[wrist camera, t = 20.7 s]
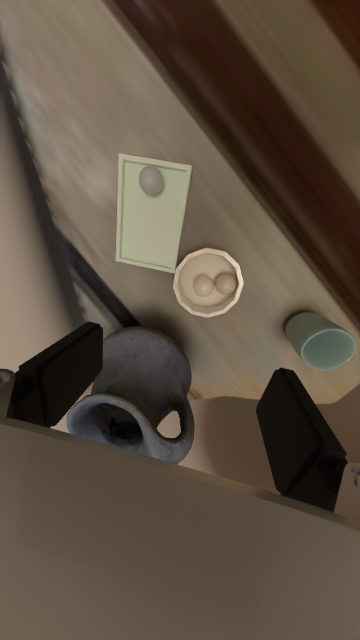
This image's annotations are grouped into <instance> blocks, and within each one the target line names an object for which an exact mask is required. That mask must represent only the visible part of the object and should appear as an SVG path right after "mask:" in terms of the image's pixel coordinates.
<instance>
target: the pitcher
mask: <svg viewBox="0 0 360 640" xmlns="http://www.w3.org/2000/svg"><path fill="white" fill-rule="evenodd" d="M191 378H192V377H191V369H190V365H189V362H188V359H187V357H186V355H185V353H184V352H183V350H182V349H181V348H180V346H179V345H178V344H177V343H176V342H175V341H174V340H173V339H172V338H170V337H169V336H168V335H166V334H164V333H163V332H161V331H158V330H155V329H152V328H149V327H142V326H131V327H127V328H123V329H120V330H118V331H115V332H113V333H111V334H110V335H108V336H107V337H106V338H105V339H104V340H103V368H102V371H101V373H100V374H99V375H98V376H97V377H96V379H95V380H94V383H93V387H92V392H91V395H87V396H85V397H84V398H83V399H82V400H81V401H79V402H77V403H76V404H75V405H74V406H73V407H72V408H71V410H70V411H69V412H68V414H67V427H68V430H69V432H70V434H73V435H76V436H80V437H83V438H87V439H90V440H94V441H97V442H101V443H104V444H108V445H111V446H115V447H119V448H122V449H125V450H129V451H132V452H136V453H139V454H143V455H146V456H150V457H153V458H157V459H160V460H164V461H167V462H170V463H174V464H178V463H179V462H180V461H182V460H183V459H184V458H185V456H186V455H187V453H188V452H189V450H190V449H191V446H192V443H193V440H194V417H193V414H192V410H191V407H190V404H189V401H188V399H187V397H186V396H187V394H188V391H189V389H190V385H191ZM172 411H177V412H178V414H179V417H180V426H181V433H180V434H179V436H177V437H176V438H165V437H164V436H162V435H161V434H160V433H159V432H158V430H157V429H156V428H157V426H158V425H159V423H160V422H161V421H162V420H163V419H164V418H165V417H166V416H167V415H168V414H169V413H170V412H172Z"/></svg>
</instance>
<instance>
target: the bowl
mask: <svg viewBox="0 0 360 640" xmlns="http://www.w3.org/2000/svg"><path fill="white" fill-rule="evenodd" d="M222 274H230V275H232V276H233V277H234V278H235V279H236V288H235V290H234V291H233V292H232V293H231V294H228V295H222V294H220V293H218V292H217V290H216V288H215V281H216V279H217V278H218V277H219V276H220V275H222ZM201 276H207V277H209V278H211V279H212V281H213V283H214V289H213V291H212V293H211V294H210V295H208V296H205V297H201V296H199V295H197V294H196V293H195V291H194V289H193V285H194V282H195V280H196V279H197V278H198V277H201ZM243 284H244V283H243V279H242V275H241V270H240V266H239V264H238V263H237V262H236V261H235V260H233V259H232V258H231V257H230V256H229V255H228V254H227V253H226V252H225V251H224V250H219V249H214V248H209V247H206V248H203V249H200V250H197V251H195V252H192V253H190V254H188V255H187V256H186V257H185V258H184V260H183V261H182V262H181V263H180V265H179V266H178V267H177V268H176V271H175V277H174V283H173V289H174V291H175V294H176V297H177V300H178V302H179V304H181V305H182V306H183V307H184V308H185V309H186V310H187V311H189V312H190V313H191V314H194V315H199V316H203V317H207V318H208V317H212V316H216V315H220V314H223V313H225V312H226V311H228V310H229V309H230V308H231V307H232V306H233V305H234V304H235V303H236V302H237V301H238V299H239V296H240V293H241V290H242V287H243Z"/></svg>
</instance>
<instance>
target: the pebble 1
mask: <svg viewBox="0 0 360 640" xmlns="http://www.w3.org/2000/svg"><path fill="white" fill-rule="evenodd" d="M139 184H140V187H141V189H142V191H143V192H144V193H145V194H147V195H150V196H155V195H157V194H158V193H159V192H160V191H161V189H162V187H163V177H162V174H161V172H160V171H159V170H158V169H157V168H156V167H154V166H146V167H144V168H143V169H142V170H141V172H140V174H139Z"/></svg>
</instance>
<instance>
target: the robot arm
mask: <svg viewBox="0 0 360 640" xmlns="http://www.w3.org/2000/svg"><path fill="white" fill-rule="evenodd" d="M102 368H103V328H102V327H101V326H100V324H97V323H93V322H87V323H85V324H84V325H82V326H80V327H79V328H77V329H76V330H74V331H73V332H71V333H70V334H68V335H67V336H65V337H64V338H62V339H60V340H59V341H58V342H56V343H54V344H53V345H51V346H50V347H48V348H47V349H45V350H43V351H42V352H40V353H39V354H37V355H36V356H34V357H33V358H31V359H30V360H28V361H26V362H25V363H23V364H22V365H20V366H19V371H17V372H16V373H14V372H13V371H11V370H8V369H0V640H360V464H357V463H348V462H347V460H346V459H345V456H346V455H347V454H346V452H345V451H344V449H343V447H342V446H341V444H340V443H339V441H338V440H337V438H336V436H335V435H334V433H333V432H332V430H331V428H330V427H329V425H328V424H327V422H326V421H325V419H324V417H323V416H322V414H321V413H320V411H319V410H318V408H317V407H316V405H315V403H314V402H313V400H312V399H311V397H310V395H309V394H308V392H307V391H306V389H305V387H304V386H303V384H302V383H301V381H300V380H299V378H298V376H297V375H296V373H295V372H294V371H293V370H289V369H284V368H280V369H279V370H275V371H274V373H273V375H272V377H271V379H270V381H269V383H268V385H267V387H266V389H265V391H264V393H263V395H262V397H261V399H260V401H259V403H258V405H257V410H256V412H257V417H258V421H259V425H260V429H261V433H262V436H263V440H264V444H265V448H266V452H267V456H268V459H269V463H270V467H271V471H272V475H273V479H274V483H275V486H276V489H277V490H278V491H279V492H280V493H281V495H278V494H275V493H272V492H269V491H266V490H262V489H259V488H255V487H252V486H249V485H245V484H242V483H238V482H235V481H232V480H228V479H225V478H221V477H218V476H215V475H211V474H208V473H205V472H201V471H198V470H194V469H191V468H188V467H184V466H180V465H177V464H174V463H170V462H167V461H164V460H160V459H157V458H153V457H150V456H146V455H143V454H139V453H136V452H132V451H129V450H125V449H122V448H119V447H115V446H111V445H108V444H104V443H101V442H97V441H94V440H90V439H87V438H83V437H80V436H76V435H73V434H69V433H66V432H62V431H59V430H55V429H51V428H50V427H51V426H55V425H56V424H57V423H58V422H59V421H60V420H61V419H62V417H63V416H64V415H65V414H66V413H67V412H68V410H69V409H70V408H71V407H72V406H73V405H74V403H75V402H76V401H77V400H78V399H79V397H80V396H81V395H82V394H83V393H84V391H85V390H86V389H87V388H88V387H89V386H90V385H91V383H92V382H93V381H94V380H95V379H96V377H97V376H98V375H99V374H100V373H101V371H102Z"/></svg>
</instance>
